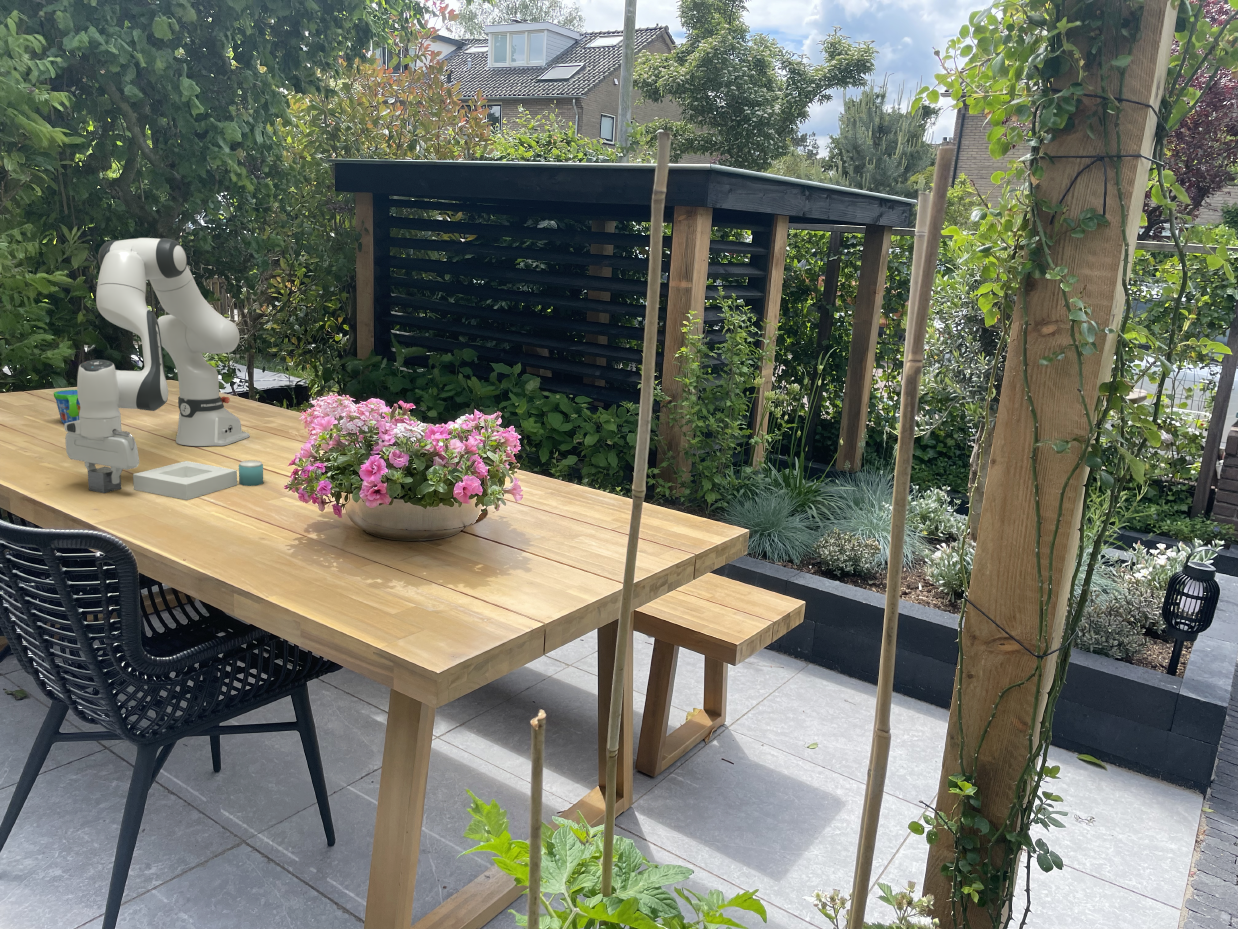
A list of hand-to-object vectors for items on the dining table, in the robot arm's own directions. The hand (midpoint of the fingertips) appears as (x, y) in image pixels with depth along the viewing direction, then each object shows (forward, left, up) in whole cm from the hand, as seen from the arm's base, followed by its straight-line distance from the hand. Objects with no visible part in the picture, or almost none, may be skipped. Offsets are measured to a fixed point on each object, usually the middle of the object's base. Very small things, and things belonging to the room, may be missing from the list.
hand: (104, 481), depth 222 cm
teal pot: (-24, +24, -2) cm, 34 cm away
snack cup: (-49, -69, -2) cm, 85 cm away
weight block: (0, 0, -2) cm, 2 cm away
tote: (-12, +14, -2) cm, 19 cm away
